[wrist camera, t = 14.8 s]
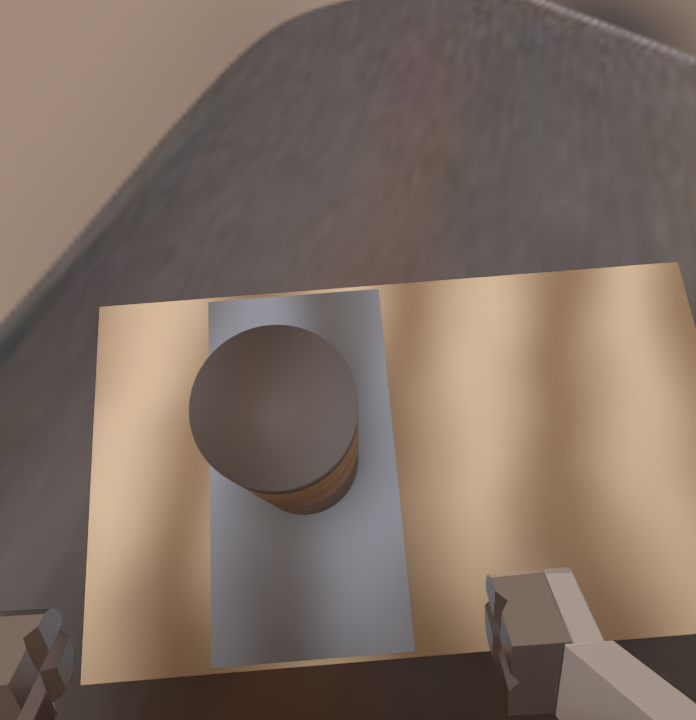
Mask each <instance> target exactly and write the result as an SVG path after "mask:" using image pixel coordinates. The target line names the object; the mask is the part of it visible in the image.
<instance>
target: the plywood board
mask: <svg viewBox="0 0 696 720" xmlns="http://www.w3.org/2000/svg"><path fill="white" fill-rule="evenodd" d="M265 325H289V326H295V327H299V328H303V329H305V330H308V331H311V332H313V333H315V334H317V335H318V336H320V337H322V338H323V339H325V340H326V341H328V342H329V343H330V344H331V345H332V346H333V347H334V348H336V349H337V350H338V352H339V353H340V354H341V355H342V357H343V358H344V359H345V361H346V362H347V364H348V366H349V367H350V370H351V372H352V374H353V376H354V380H355V383H356V386H357V393H358V467H357V473H356V477H355V479H354V482H353V484H352V486H351V488H350V490H349V491H348V492H347V494H346V495H345V496H344V497H343V498H342V499H341V500H340V501H339V502H338V503H337V504H335V505H334V506H332V507H331V508H329V509H327V510H325V511H322V512H319V513H316V514H310V515H298V514H292V513H288V512H285V511H283V510H281V509H279V508H277V507H275V506H274V505H272V504H270V503H268V502H267V501H265V500H263V499H262V498H260V497H258V496H256V495H255V494H253V493H251V492H249V491H248V490H246V489H244V488H243V487H241V486H239V485H237V484H236V483H234V482H232V481H231V480H229V479H227V478H226V477H224V476H222V475H221V474H220V473H219V472H217V471H216V470H215V469H214V468H213V467H212V466H211V465H210V464H209V463H208V462H207V461H206V460H205V458H204V457H203V455H202V454H201V452H200V451H199V449H198V447H197V445H196V443H195V440H194V438H193V435H192V432H191V427H190V422H189V399H190V395H191V390H192V387H193V384H194V381H195V378H196V376H197V374H198V372H199V370H200V368H201V367H202V365H203V364H204V362H205V361H206V359H207V358H208V357H209V356H210V355H211V354H212V352H213V351H214V350H216V349H217V348H218V347H219V346H220V345H221V344H222V343H224V342H225V341H227V340H228V339H229V338H231V337H233V336H235V335H237V334H238V333H241V332H243V331H246V330H248V329H251V328H255V327H259V326H265ZM562 567H568V568H569V569H570V570H571V571H572V573H573V575H574V577H575V579H576V582H577V584H578V586H579V588H580V590H581V592H582V594H583V596H584V598H585V601H586V603H587V605H588V607H589V609H590V611H591V613H592V615H593V617H594V619H595V622H596V624H597V626H598V628H599V630H600V632H601V634H602V636H603V638H604V641H616V640H627V639H639V638H651V637H663V636H675V635H687V634H696V328H695V324H694V321H693V317H692V313H691V309H690V306H689V302H688V298H687V295H686V291H685V287H684V283H683V280H682V276H681V272H680V269H679V265H678V262H672V263H659V264H647V265H634V266H621V267H608V268H595V269H582V270H569V271H557V272H544V273H531V274H518V275H505V276H492V277H479V278H467V279H454V280H441V281H428V282H415V283H402V284H389V285H377V286H364V287H351V288H338V289H325V290H312V291H299V292H287V293H274V294H261V295H248V296H235V297H222V298H209V299H197V300H184V301H171V302H158V303H145V304H132V305H119V306H107V307H100V310H99V330H98V350H97V370H96V389H95V409H94V429H93V449H92V469H91V488H90V508H89V528H88V548H87V568H86V587H85V607H84V627H83V647H82V667H81V685H89V684H101V683H113V682H125V681H137V680H149V679H161V678H173V677H185V676H196V675H208V674H220V673H232V672H244V671H256V670H268V669H280V668H292V667H304V666H316V665H328V664H340V663H352V662H364V661H376V660H388V659H400V658H412V657H424V656H436V655H448V654H460V653H472V652H484V651H490V649H489V645H488V640H487V635H486V626H485V605H486V603H487V602H488V601H489V599H488V596H487V592H486V577H487V574H490V573H501V572H512V571H523V570H535V569H539V570H541V569H550V568H562Z"/></svg>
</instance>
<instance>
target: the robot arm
mask: <svg viewBox="0 0 696 720" xmlns="http://www.w3.org/2000/svg"><path fill="white" fill-rule="evenodd" d="M486 592H487V596H488V599H489V601H488V602H487V603H486V605H485V626H486V635H487V640H488V645H489V649H490V653H491V657H492V659H494V660H495V661H496V662H497V663H498V664H499V667H498V683H499V686H500V690H501V693H502V697H503V701H504V704H505V708H506V711H507V715H530V714H551V713H556V717H557V718H558V719H559V720H696V703H694V702H693V701H692V700H690V699H689V698H688V697H686V696H685V695H684V694H683V693H681V692H680V691H679V690H677V689H676V688H675V687H673V686H672V685H671V684H669V683H668V682H667V681H665V680H664V679H663V678H662V677H660V676H659V675H658V674H656V673H655V672H654V671H652V670H651V669H650V668H648V667H647V666H646V665H644V664H643V663H642V662H640V661H639V660H638V659H637V658H635V657H634V656H633V655H631V654H630V653H629V652H627V651H626V650H625V649H623V648H622V647H621V646H619V645H618V644H617V643H615V642H614V641H604V638H603V636H602V634H601V632H600V630H599V628H598V626H597V624H596V622H595V619H594V617H593V615H592V613H591V611H590V609H589V607H588V605H587V603H586V601H585V598H584V596H583V594H582V592H581V590H580V588H579V586H578V584H577V582H576V579H575V577H574V575H573V573H572V571H571V570H570V569H569V568H568V567H562V568H550V569H541V570H539V569H535V570H523V571H512V572H501V573H490V574H487V577H486ZM62 622H63V620H62V618H61V616H60V614H59V612H58V610H57V609H53V608H46V609H26V610H6V611H0V720H55V718H56V715H57V712H56V709H55V706H54V702H55V701H56V700H57V699H58V698H59V697H60V696H61V695H62V694H63V693H64V692H65V691H66V690H67V688H68V685H69V683H70V680H71V678H72V675H73V668H74V661H75V655H74V647H73V644H72V641H71V639H70V637H69V636H67V635H66V634H64V633H63V632H61V631H60V630H59V629H60V627H61V624H62Z"/></svg>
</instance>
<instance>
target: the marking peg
mask: <svg viewBox="0 0 696 720" xmlns="http://www.w3.org/2000/svg"><path fill="white" fill-rule="evenodd" d="M189 422H190V427H191V432H192V435H193V438H194V440H195V443H196V445H197V447H198V449H199V451H200V452H201V454H202V455H203V457H204V458H205V460H206V461H207V462H208V463H209V464H210V465H211V466H212V467H213V468H214V469H215V470H216V471H217V472H219V473H220V474H221V475H222V476H224V477H226V478H227V479H229V480H231V481H232V482H234V483H236V484H237V485H239V486H241V487H243V488H244V489H246V490H248V491H249V492H251V493H253V494H255V495H256V496H258V497H260V498H262V499H263V500H265V501H267V502H268V503H270V504H272V505H274V506H275V507H277V508H279V509H281V510H283V511H285V512H288V513H292V514H298V515H310V514H316V513H319V512H322V511H325V510H327V509H329V508H331V507H332V506H334V505H335V504H337V503H338V502H339V501H340V500H341V499H342V498H343V497H344V496H345V495H346V494H347V492H348V491H349V490H350V488H351V486H352V484H353V482H354V479H355V477H356V473H357V467H358V393H357V386H356V383H355V380H354V376H353V374H352V372H351V370H350V367H349V366H348V364H347V362H346V361H345V359H344V358H343V357H342V355H341V354H340V353H339V352H338V350H337V349H336V348H334V347H333V346H332V345H331V344H330V343H329V342H328V341H326V340H325V339H323V338H322V337H320V336H318V335H317V334H315V333H313V332H311V331H308V330H305V329H303V328H299V327H295V326H289V325H265V326H259V327H255V328H251V329H248V330H246V331H243V332H241V333H238V334H237V335H235V336H233V337H231V338H229V339H228V340H227V341H225V342H224V343H222V344H221V345H220V346H219V347H218V348H217V349H216V350H214V351H213V352H212V354H211V355H210V356H209V357H208V358H207V359H206V361H205V362H204V364H203V365H202V367H201V368H200V370H199V372H198V374H197V376H196V378H195V381H194V384H193V387H192V390H191V395H190V399H189Z"/></svg>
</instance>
